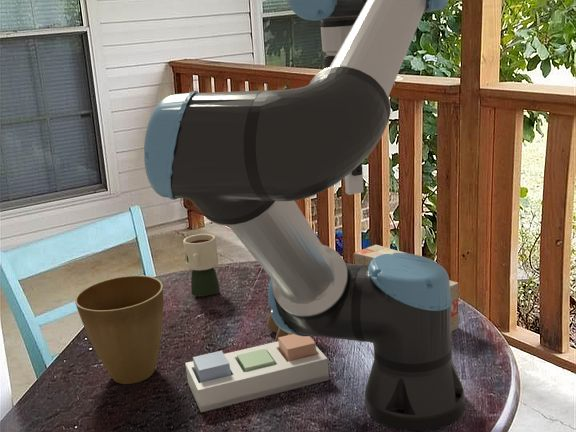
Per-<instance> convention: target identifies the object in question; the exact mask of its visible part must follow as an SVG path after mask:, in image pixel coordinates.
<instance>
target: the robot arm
mask: <svg viewBox="0 0 576 432" xmlns="http://www.w3.org/2000/svg"><path fill="white" fill-rule="evenodd" d="M287 2H288V6H289V7H290V9H291V11H292V12H293V13H294V14H295V15H296V16H298V17H299V18H300V19H302V20H307V21H313V22H316V21H320V26H321V27H320V36H321V46H322V47H321V48H322V49H321V51H322V52H324V53H325V55H323V57H322V61H323V70H321V71H319V72H318V73H317V74H315V75H314V76H313V78H312V79H311V80H310V82H309V84H308V85H305V86H301V87H297V88H290V89H289V88H288V89H278V90H277V89H275V90H272V89H271V90H242V91H241V90H240V91H238V90H237V91H219V92H218V91H217V92H216V91H215V92H199V91H197V90H192V91H190V92H186V93H175V94H171V95H168V96H166V97H164V98H163V99H161V100H160V101H159V103H158V104H156V106H155V108H154V110H153V111H152V113H151V115H150V118H149V120H148V123H147V126H146V131H145V136H144V143H143V144H144V146H143V151H144V153H143V154H144V156H143V157H144V158H143V162H144V168H145V173H146V177H147V180H148V182H149V184H150V186H151V188H152V189H153V191H154V192H155V193H156V194H158V195H159V196H160V197H162V198H168V199H170V200H172V201H173V200H174V201H175V200H176V201H177V199H186V200H188V201H190V202H191V203H192V204H193V205H194V207H195V208H196V209H197V210H198V211H199V212H200V214H201V215H202V216H204V218H205V219H207V220H208V221H210V222H211V223H214V224H215V225H216V224H217V225H220V226H227V227H229V228H230V230H232V232H233V233H234V234H235V235H236V237H237V239H239V241H240V242H241V243H242V245H244V247H245V248H246V249H247V250H248V252H249V253H250V254H251V255H252V256H253V258H254V259H255V261H257V263H258V264H259V265H260V266H261V268H262V269H263V270H264V272H265V273H266V274H267V275H268V277H270V280H269V283H268V291H267V292H268V294H267V296H268V297H267V298H268V299H267V300H268V306H269V307H270V308H271V309H270V312H271V315H272V318H273V320H274V322H275V323H276V325H277V326H278V327H279V328H280V329H282V330H283V331H285V332H288V333H292V334H295V335H298V336H310V337H311V336H312V337H318V338H319V337H320V338H328V339H337V340H346V341H347V340H348V341H358V342H364V343H371V344H373V354H374V355H373V357H374V358H373V362H372V364H371V365H372V367H371V369H370V372H369V376H368V379H367V382H366V386H365V388H364V390H365V391H364V397H365V399H364V400H365V401H364V402H365V403H364V404H365V408H366V411H367V412H368V414H369V416H370V417H371V418H373V419H374V420H375V421H376V422H378V423H379V424H382V425H385V426H387V427H390V428H392V429H397V430H403V431H409V432H411V431H412V432H414V431H415V432H422V431H430V430H436V429H440V428H443V427H445V426H448V425H451V424H452V423H453V422H455V421H456V420H458V419H459V418H460V417H461V416H462V415H463V412H464V410H465V405H466V403H465V390H464V387H463V384H462V382H461V378H460V376H459V374H458V371H457V368H456V366H455V363H454V360H453V354H452V350H453V349H452V348H453V347H452V332H451V304H452V297H451V294H450V282H449V280H450V277H449V274H448V272H447V270H446V269H445V268H444V267H443V266H442V265H440V264H439V263H438V262H436V261H435V260H433V259H431V258H428V257H426V256H423V255H419V254H413V253H408V252H404V253H393V254H383V255H380V256H377V257H375V258H374V259H373V260H372V261H371V262H370V265H361V264H355V263H346V261H345V260H344V259H343V257H342V256H341V255H340V253H339V252H338V251H336V250H335V249H333V248H331V247H330V246H328V245H326V244H323V243H322V242H321V241H320V239H319V237H318V236H317V234H316V232H314V230H313V228H312V226H311V225H310V223H309V222H308V220H307V218H306V217H305V215H304V214H303V212H302V210H301V209H300V207H299V205H298V204H297V202H296V201H300V200H304V199H307V198H311V197H314V196H316V195H319V194H320V193H322V192H324V191H326V190H328V189H329V188H332V187H333V186H335V185H337V184H338V183H339V182H340V181H342V180H343V179H344V186H345V189H344V190H345V194H346V195H349V196H351V195H357V194H362V193H364V189H365V188H364V176H363V175H364V172H363V162H364V161H365V160H366V158H368V156H369V155H370V154H371V153H372V152H373V151H374V149H375V147H377V145H378V143H379V141H381V138H382V136H384V133H385V131H386V127H387V125H388V123H389V120H390V116H391V109H392V108H391V100H390V98H389V96H390V94H391V91H392V89H393V87H394V84H395V82H396V79H397V76H398V74H399V73H400V69H401V67H402V65H403V63H404V60H405V58H406V55H407V52H408V51H409V48H410V45H411V43H412V41H413V39H414V36H415V34H416V32H417V29H418V27H419V23H420V22H421V20H422V17H423V15H424V13H432V12H434V11H435V12H436V11H437V12H438V11H441V10H443V9H444V10H445V8H446V7H447V5H448V4H449V0H287Z"/></svg>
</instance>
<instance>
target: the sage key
mask: <svg viewBox="0 0 576 432" xmlns="http://www.w3.org/2000/svg"><path fill="white" fill-rule="evenodd" d="M237 359H238V364H239V365H240V367H241V369H242V370H243V372H247V371H252V370H256V369H260V368H264V367H268V366H272V365H274V360H273V359H272V358H271V356H270V355H269V353H268V352H267V351H266V349H261V350H257V351H253V352H249V353H244V354H240V355H237Z"/></svg>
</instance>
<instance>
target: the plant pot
mask: <svg viewBox="0 0 576 432" xmlns="http://www.w3.org/2000/svg"><path fill="white" fill-rule="evenodd" d="M74 303H75V306H76V309H77V311H78V314H79V317H80V319H81V323H82V324H83V325H82V326H83V327H84V329H85V332H86V334H87V336H88V339H89V340H90V341H89V342H91V345H92V347H93V349H94V351H95V352H96V355H97V356H98V358H99V360H100V361H101V363H102V365H103V366H104V368H105V370H106V371H107V372H108V374H109V375H110V377H111V378H112V379H113V381H114V382H116V383H118V384H122V385H130V384H131V385H132V384H136V383H140V382H143V381H145V380H147V379H148V378H150V377H151V376H152V375H153V374H154V372H155V369H156V365H157V361H158V356H159V353H160V352H159V351H160V346H161V337H162V330H163V319H164V317H163V316H164V314H163V313H164V286H163V282H162V281H161V280H159V279H158V278H156V277H153V276H148V275H141V274H140V275H139V274H137V275H136V274H135V275H134V274H133V275H125V276H117V277H113V278H108V279H104V280H102V281H99V282H95V283H93V284H91V285H90V286H87V287H85V288H84V289H82V290H81V291H80V292H79V293H78V294H76V297H75V299H74Z"/></svg>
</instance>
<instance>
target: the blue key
mask: <svg viewBox="0 0 576 432" xmlns="http://www.w3.org/2000/svg"><path fill="white" fill-rule="evenodd" d="M224 354H225V353H224V352H223V350H218V351H214V352H209V353H205V354H201V355H196V356H192V361H193V363H194V370H195V376H196V378H197V380H198V382H199V383H202V382H206V381H210V380H214V379H218V378H223V377H227V376H231V372H230V364H229V362H228V360H227V358H226V357H225V355H224Z"/></svg>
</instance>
